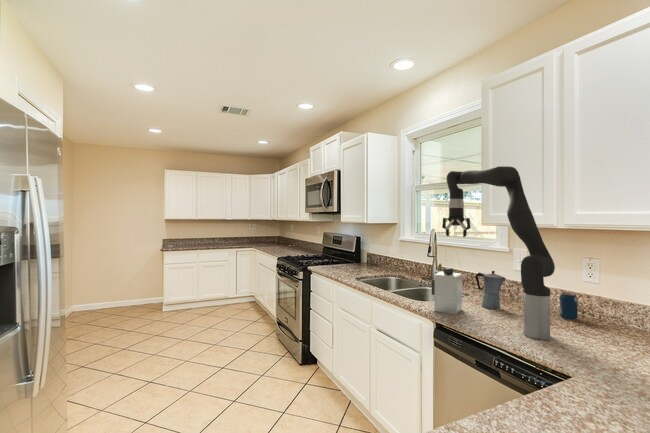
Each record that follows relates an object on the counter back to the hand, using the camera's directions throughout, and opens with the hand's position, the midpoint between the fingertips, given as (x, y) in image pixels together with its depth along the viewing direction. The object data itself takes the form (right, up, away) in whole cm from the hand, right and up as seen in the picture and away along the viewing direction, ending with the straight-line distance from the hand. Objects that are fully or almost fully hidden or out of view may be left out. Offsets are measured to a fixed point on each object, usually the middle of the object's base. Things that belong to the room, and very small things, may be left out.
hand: (456, 236), depth 177 cm
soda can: (+46, -39, -21) cm, 64 cm away
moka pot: (+17, -39, -3) cm, 42 cm away
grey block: (-9, -38, -9) cm, 40 cm away
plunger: (-8, -37, -9) cm, 39 cm away
